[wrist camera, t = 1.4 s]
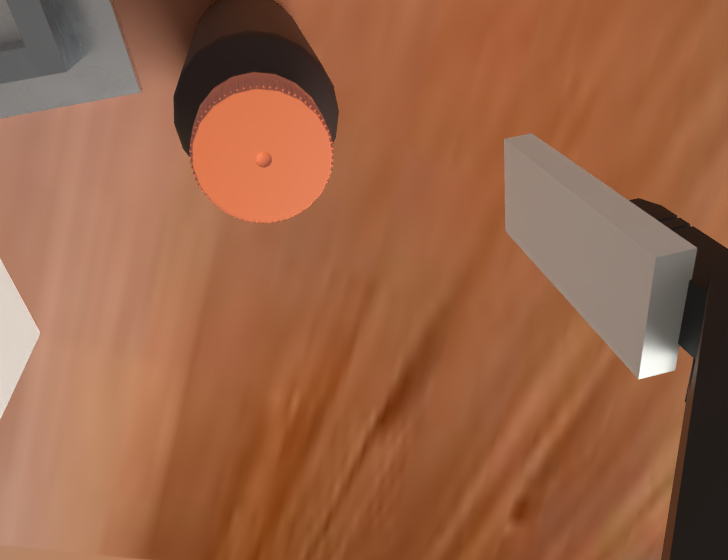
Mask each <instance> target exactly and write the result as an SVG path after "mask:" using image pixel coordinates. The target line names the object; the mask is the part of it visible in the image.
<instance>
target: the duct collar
mask: <svg viewBox="0 0 728 560" xmlns="http://www.w3.org/2000/svg"><path fill="white" fill-rule="evenodd" d="M141 90H142V87H141V84H140V81H139V78H138V75H137V72H136V69H135V66H134V63H133V60H132V57H131V54H130V51H129V48H128V45H127V42H126V39H125V36H124V33H123V30H122V27H121V24H120V21H119V18H118V15H117V12H116V9H115V6H114V3H113V0H0V118H5V117H11V116H16V115H21V114H27V113H32V112H38V111H43V110H48V109H54V108H59V107H64V106H70V105H75V104H81V103H86V102H91V101H97V100H102V99H108V98H113V97H118V96H124V95H129V94H135V93H140V92H141Z"/></svg>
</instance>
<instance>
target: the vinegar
mask: <svg viewBox="0 0 728 560" xmlns="http://www.w3.org/2000/svg"><path fill="white" fill-rule="evenodd" d="M338 113H339V111H338V106H337V101H336V96H335V91H334V86H333V84H332V82H331V81H330V79H329V77H328V75H327V73H326V72H325V70H324V68H323V66H322V64H321V63H320V61H319V59H318V58H317V56H316V55H315V53H314V51H313V50H312V48H311V47H310V45H309V43H308V42H307V40H306V39H305V37H304V36H303V34H302V32H301V31H300V29H299V28H298V26H297V24H296V23H295V21H294V20H293V18H292V16H290V15H289V14H288V13H287V12H286V11H285V10H284V9H283V8H282V7H281V6H280V5H279V4H278V3H276V2H274V1H272V0H219V1H218V2H216V3H215V4H213V5H212V6H210V7H209V8H208V10H207V11H206V12H205V14H204V15H203V16H202V18H201V19H200V20H199V22H198V25H197V28H196V31H195V34H194V37H193V40H192V43H191V46H190V48H189V51H188V54H187V57H186V60H185V63H184V66H183V69H182V72H181V75H180V78H179V81H178V84H177V87H176V90H175V94H174V124H175V127H176V130H177V133H178V136H179V138H180V141H181V144H182V147H183V149H184V150H185V152H186V153H187V154H188V156H189V158H191V161H190V164H192V168H191V170H194V173H193V176H196V180H195V181H196V182H198V183H199V184H198V187H201V188H202V190H201V192H205V197H207V196H208V197H209V201H212V202H213V203H214V206H215V205H217V206H218V209H220V208H221V209H223V213H224V212H227V213H228V214H229V216H230V215H233V216H234V218H236V217H239V218H240V220H241V219H245V222H247V220H248V221H251V223H252V222H253V221H255V222H257V224H258V223H259V222H263V224H264V223H265V222H269V224H270V222H273V221H274V222H275V223H276V221H277V220H280V221H281V222H282V219H286V220H287V218H290V217H291V218H293V216H294V215H295V214H296V215H297V216H298V213H299V212H300V211H301V212H302V213H303V210H304V209H308V208H307V207H309V206H310V205H311V206H312V202H313V201H315V202H316V198H317V197H320V196H319V195H320V193H323V188H326V185H325V184H326V183H329V181H328V177H329V178H330V177H331V176H330V172H332V169H331V167H333V163H332V161H334V158H333V156H332V155H334V152H333V150H332V149H334V147H333V145H332V144H333V142H334V140H335V137H336V131H337V122H338Z"/></svg>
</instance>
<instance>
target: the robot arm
mask: <svg viewBox="0 0 728 560" xmlns="http://www.w3.org/2000/svg"><path fill="white" fill-rule="evenodd" d="M504 162H505V231H506V232H507V233H508V234H509V236H510V237H511V238H512V239H513V240H514V241H515V242H516V243H517V245H518V246H519V247H520V248H521V249H522V250H523V251H524V252H525V253H526V255H527V256H528V257H529V258H530V259H531V260H532V261H533V262H534V263H535V265H536V266H537V267H538V268H539V269H540V270H541V271H542V272H543V273H544V275H545V276H546V277H547V278H548V279H549V280H550V281H551V282H552V283H553V285H554V286H555V287H556V288H557V289H558V290H559V291H560V292H561V293H562V295H563V296H564V297H565V298H566V299H567V300H568V301H569V302H570V304H571V305H572V306H573V307H574V308H575V309H576V310H577V311H578V312H579V314H580V315H581V316H582V317H583V318H584V319H585V320H586V321H587V322H588V324H589V325H590V326H591V327H592V328H593V329H594V330H595V331H596V332H597V334H598V335H599V336H600V337H601V338H602V339H603V340H604V341H605V342H606V344H607V345H608V346H609V347H610V348H611V349H612V350H613V351H614V353H615V354H616V355H617V356H618V357H619V358H620V359H621V360H622V361H623V363H624V364H625V365H626V366H627V367H628V368H629V369H630V370H631V371H632V373H633V374H634V375H635V376H636V377H637V378H638V379H642V378H646V377H650V376H654V375H658V374H662V373H666V372H670V371H674V370H675V368H676V362H677V357H678V351H679V346H681V347H682V348H683V349H684V350H686V351H687V352H688V353H689V354H690V355H691V356H692V357H693V358H694V359H693V364H692V369H691V374H690V379H689V384H688V389H687V394H686V399H685V402H686V406H685V412H684V419H683V425H682V431H681V438H680V444H679V450H678V457H677V463H676V469H675V476H674V482H673V488H672V495H671V501H670V507H669V514H668V520H667V526H666V533H665V539H664V545H663V552H662V558H661V560H728V249H727V248H726V247H724V246H723V245H721V244H719V243H718V242H716V241H715V240H713V239H712V238H710V237H709V236H707V235H706V234H704V233H703V232H701V231H700V230H698V229H696V228H695V227H690V224H689V223H687V222H686V221H684V220H683V219H681V218H677V215H675V214H673V213H672V212H670V211H669V210H667V209H666V208H664V207H663V206H661V205H658V204H655V203H652V202H649V201H646V200H643V199H639V198H638V199H633V200H627V199H626V198H624V197H623V196H622V195H620V194H619V193H617V192H616V191H614V190H613V189H611V188H610V187H609V186H607V185H606V184H604V183H603V182H601V181H600V180H598V179H597V178H596V177H594V176H593V175H591V174H590V173H588V172H587V171H585V170H584V169H583V168H581V167H580V166H578V165H577V164H575V163H574V162H572V161H571V160H570V159H568V158H567V157H565V156H564V155H562V154H561V153H559V152H558V151H557V150H555V149H554V148H552V147H551V146H549V145H548V144H546V143H545V142H544V141H542V140H541V139H539V138H538V137H536V136H535V135H533V134H532V133H531V134H526V135H521V136H516V137H511V138H506V139H504ZM39 335H40V332H39V330H38V328H37V326H36V324H35V322H34V320H33V319H32V317H31V315H30V313H29V311H28V309H27V307H26V306H25V304H24V302H23V300H22V298H21V296H20V294H19V293H18V291H17V289H16V287H15V285H14V283H13V281H12V280H11V278H10V276H9V274H8V272H7V270H6V268H5V267H4V265H3V263H2V261H1V259H0V419H1V417H2V415H3V412H4V410H5V408H6V406H7V404H8V402H9V399H10V397H11V395H12V393H13V391H14V389H15V387H16V384H17V382H18V380H19V378H20V376H21V374H22V372H23V369H24V367H25V365H26V363H27V361H28V359H29V356H30V354H31V352H32V350H33V348H34V346H35V344H36V341H37V339H38V337H39Z"/></svg>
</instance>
